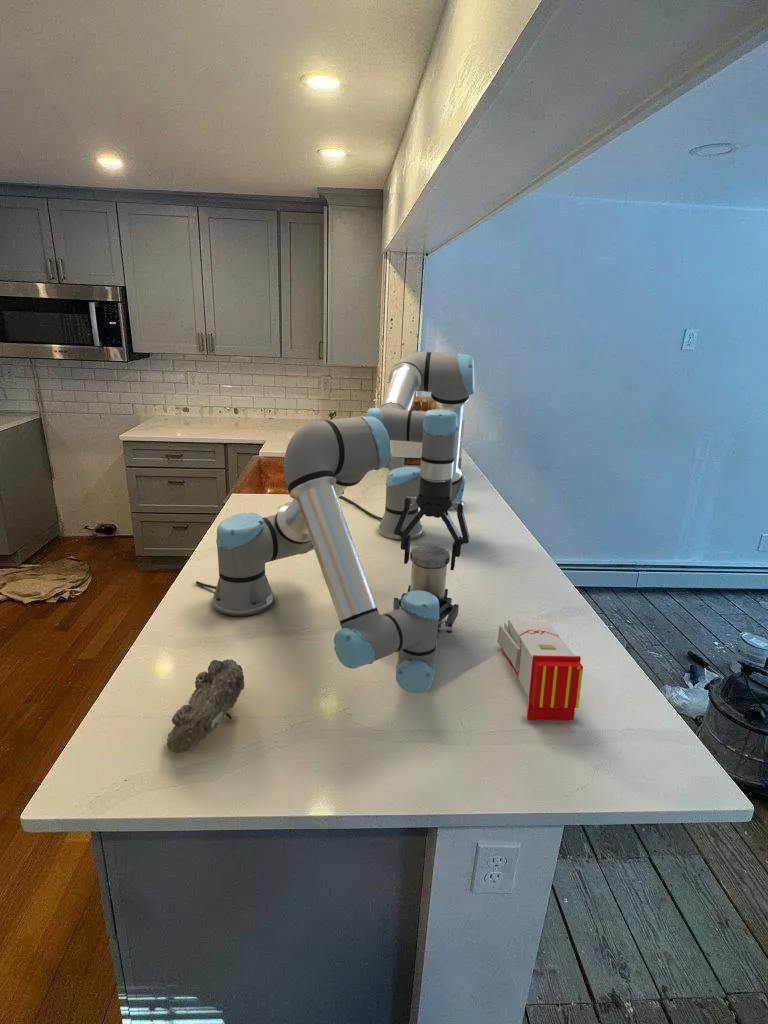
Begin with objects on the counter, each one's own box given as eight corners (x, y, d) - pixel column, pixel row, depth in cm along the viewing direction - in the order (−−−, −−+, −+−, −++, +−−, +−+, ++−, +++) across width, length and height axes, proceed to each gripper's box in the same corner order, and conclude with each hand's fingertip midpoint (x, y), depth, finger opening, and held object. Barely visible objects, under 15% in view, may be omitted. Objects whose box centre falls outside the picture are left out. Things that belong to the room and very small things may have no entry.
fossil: (192, 660, 117) (244, 628, 112) (224, 691, 120) (276, 661, 115) (142, 746, 98) (202, 712, 93) (182, 779, 101) (242, 748, 96)
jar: (423, 611, 150) (428, 545, 143) (448, 624, 144) (455, 556, 137) (401, 621, 144) (405, 554, 138) (425, 635, 138) (431, 566, 132)
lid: (456, 564, 136) (457, 558, 135) (421, 570, 132) (421, 563, 131) (437, 549, 144) (438, 543, 143) (403, 554, 140) (404, 547, 140)
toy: (543, 604, 136) (592, 662, 106) (538, 656, 138) (584, 727, 109) (493, 603, 135) (528, 661, 106) (489, 655, 138) (522, 726, 109)
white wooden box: (382, 463, 289) (386, 382, 275) (445, 464, 293) (451, 384, 279) (390, 482, 257) (394, 392, 243) (460, 483, 261) (468, 394, 247)
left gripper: (372, 647, 128) (386, 600, 149) (467, 659, 125) (468, 609, 146) (373, 618, 125) (387, 574, 146) (470, 629, 122) (471, 583, 143)
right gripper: (487, 479, 132) (478, 565, 139) (390, 468, 137) (386, 552, 144) (485, 488, 125) (475, 578, 133) (383, 477, 130) (379, 564, 137)
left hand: (428, 591), depth 146 cm, fingers closed on jar, 9 cm apart
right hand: (429, 564), depth 138 cm, fingers open, 11 cm apart
